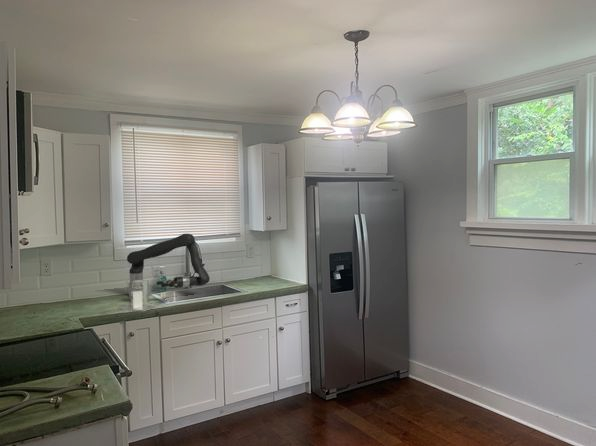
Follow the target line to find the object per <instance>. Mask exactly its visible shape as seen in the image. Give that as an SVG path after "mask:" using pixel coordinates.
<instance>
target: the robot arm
mask: <svg viewBox="0 0 596 446" xmlns="http://www.w3.org/2000/svg"><path fill="white" fill-rule="evenodd" d="M195 238H196V237H194V235H193V234H192V233H183V234H180V235H178V236H176V237H173V238H171V239H168V240H164V241H163V240H162V241H160V242H158V243H157V242H156V243H154V244H152V245H150V246H148V247H146V248H143V249H139V250H136V251H131V252H130V253H128V255H127V257H126V261H127V262H128V263H129V264H131V267H130V268H129V272H128V273H129V282H128V296H129V297H130V296H131V292H133V287H134V286H133V281H136V280H144V279H143V278H144V273H143V271H144V266H145V265H144V264H145V261H144V260H147V259H152V258H157V257H160V256H164V255H166V254H168V253H170V252H172V251H173V250H176V249H178V248H182V247H186V248H187V250H188V252H189V256H190V258H189V259H190V262H191V266H192V268H193V271H194V272H195V274H197V275H198V276H195V275H189V276H186V275H184V276H176V277H174V278H173V279H163V280H161V281H160V280H159V281H156V285H157V286H160V288H164V287H166V288H167V287H168V288H172V287H173V288H175V289H179V288H188V287H193V286H194V287H201V286H204V285H206V284H208V283H209V282H210V275H209V274H208V272H207V270H206V269H205V268H204V265H203V262H202V260H201V258H200V255H199V251H198V248H197V247H198V246H197V244H196V243H197V242H196V240H195Z"/></svg>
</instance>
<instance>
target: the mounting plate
mask: <svg viewBox="0 0 596 446" xmlns="http://www.w3.org/2000/svg"><path fill="white" fill-rule="evenodd" d="M156 308H157V307H156V305H148V304H147V305H146V304H143V307H138V308H132V307H131V303H129V304H126V305H123V306H119V307H118V310H127V311H136V312H146V311H149V310H152V309H156Z"/></svg>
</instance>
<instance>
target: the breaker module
mask: <svg viewBox="0 0 596 446" xmlns="http://www.w3.org/2000/svg"><path fill="white" fill-rule="evenodd" d="M129 300H130V304H131V307H132V308H138V307H143V305H144V304H143V303H142V291H135V292H131V296H129Z"/></svg>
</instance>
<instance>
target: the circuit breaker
mask: <svg viewBox="0 0 596 446" xmlns="http://www.w3.org/2000/svg"><path fill="white" fill-rule="evenodd" d="M133 286H134V287H133V292H135V291H142V303H143V305H145V303H147V302H149V296H151V295H152V285H151V283H149V279H143V280H136V281H133Z"/></svg>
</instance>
